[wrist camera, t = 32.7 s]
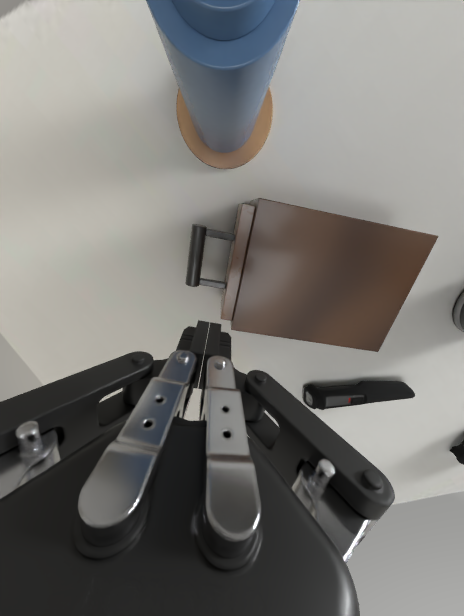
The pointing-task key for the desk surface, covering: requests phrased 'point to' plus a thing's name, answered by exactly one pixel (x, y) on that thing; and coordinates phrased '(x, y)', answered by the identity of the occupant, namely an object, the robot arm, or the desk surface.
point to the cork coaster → (230, 158)
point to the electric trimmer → (355, 394)
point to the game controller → (459, 452)
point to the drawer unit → (325, 276)
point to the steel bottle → (223, 60)
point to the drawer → (234, 263)
